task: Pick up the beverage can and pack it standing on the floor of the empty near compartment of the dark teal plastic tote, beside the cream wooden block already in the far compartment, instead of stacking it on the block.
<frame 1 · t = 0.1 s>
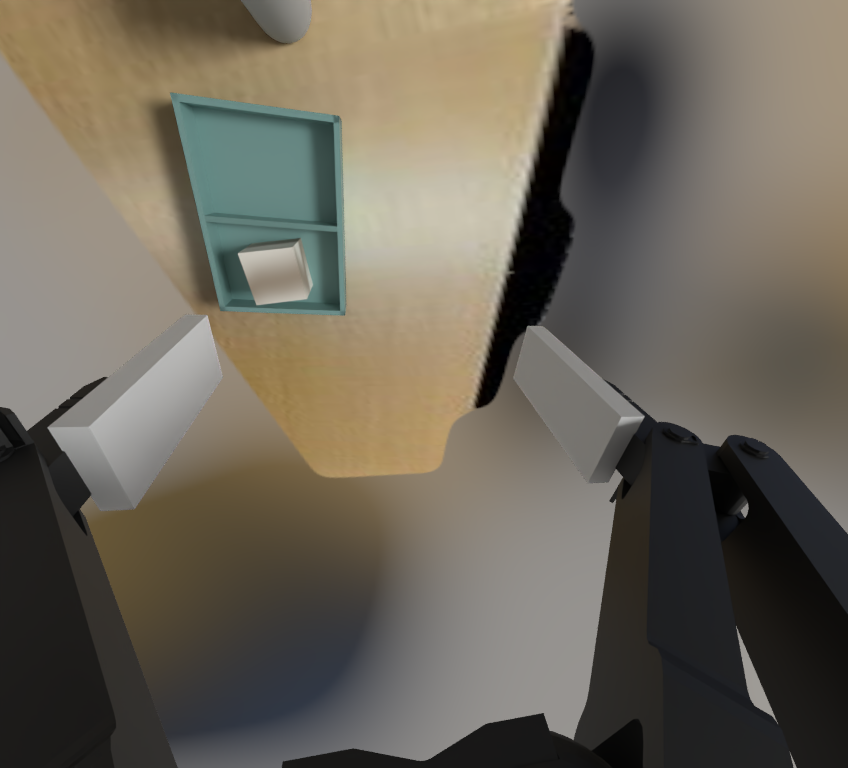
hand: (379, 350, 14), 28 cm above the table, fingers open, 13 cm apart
tote: (280, 219, 35), on the table
beverage can: (282, 5, 28), on the table
cream block: (284, 264, 37), point 1 cm above the table, touching tote
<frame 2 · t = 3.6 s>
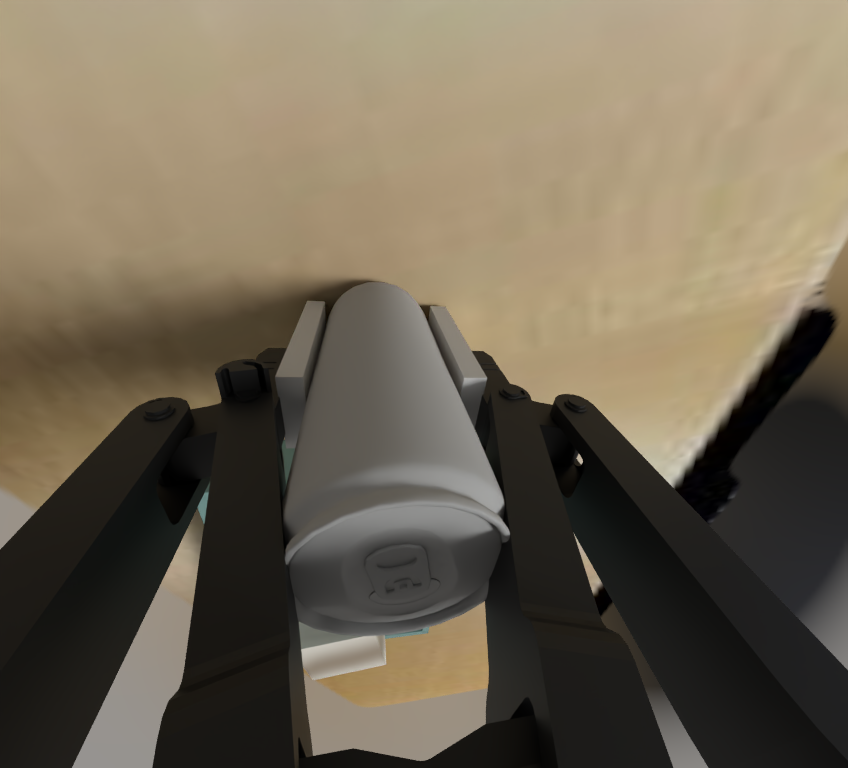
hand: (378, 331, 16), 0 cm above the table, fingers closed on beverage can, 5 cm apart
tote: (344, 532, 24), on the table
beverage can: (377, 326, 16), on the table, touching gripper
cream block: (345, 579, 26), point 1 cm above the table, touching tote
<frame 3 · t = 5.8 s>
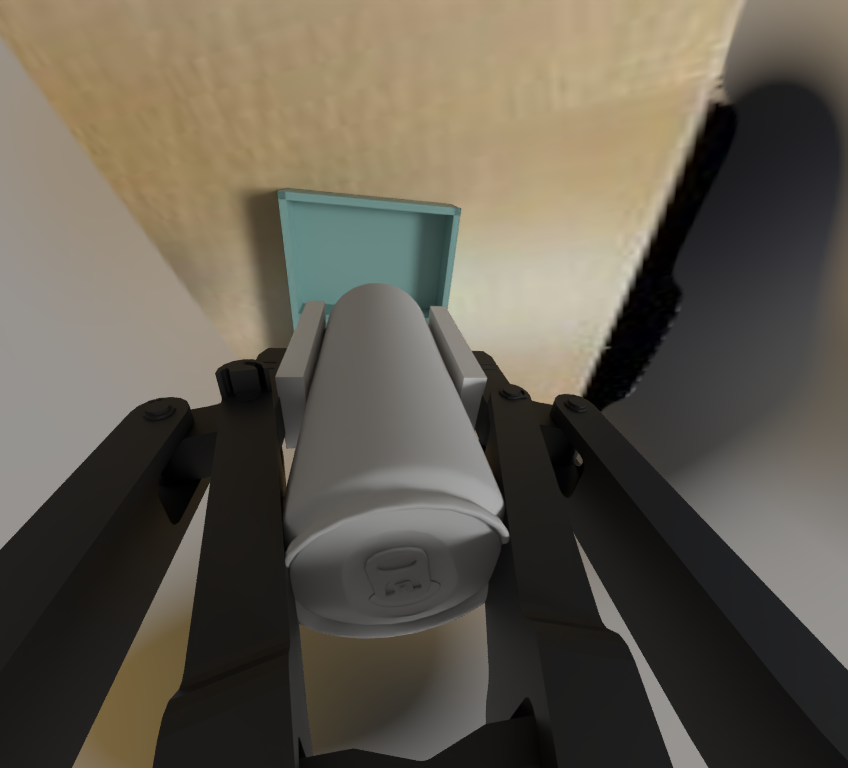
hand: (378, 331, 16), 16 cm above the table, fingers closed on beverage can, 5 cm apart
tote: (371, 305, 32), on the table
beverage can: (377, 327, 17), point 16 cm above the table, touching gripper
when the fingers open (3 cm above the table, at t = 8.3 s): beverage can drops 2 cm, resting on tote.
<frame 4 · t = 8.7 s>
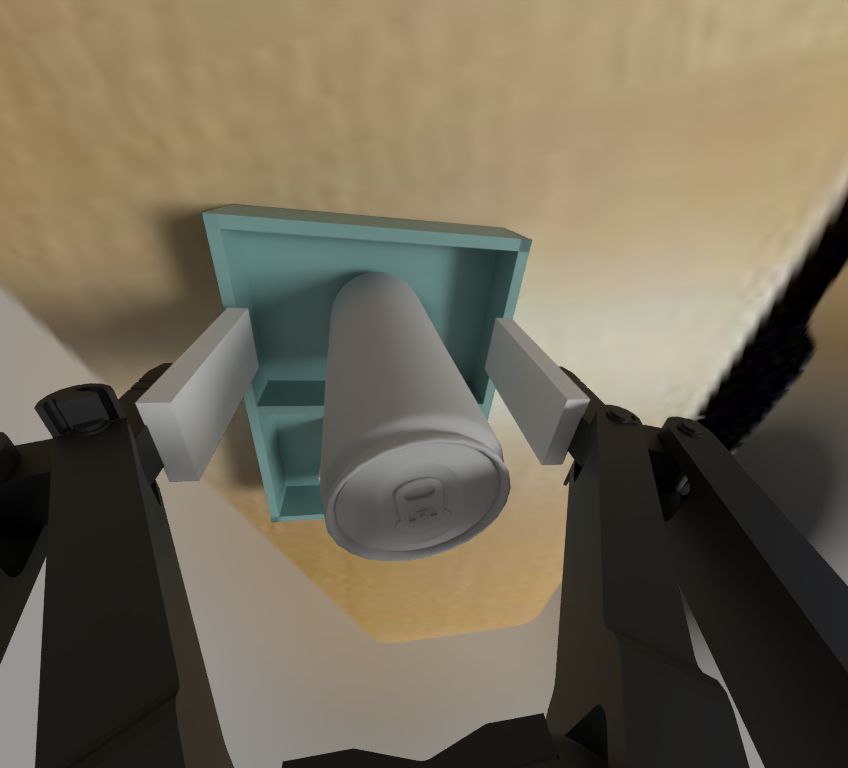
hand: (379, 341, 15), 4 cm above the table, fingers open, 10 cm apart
tote: (374, 375, 21), on the table
beverage can: (376, 313, 18), point 1 cm above the table, touching tote
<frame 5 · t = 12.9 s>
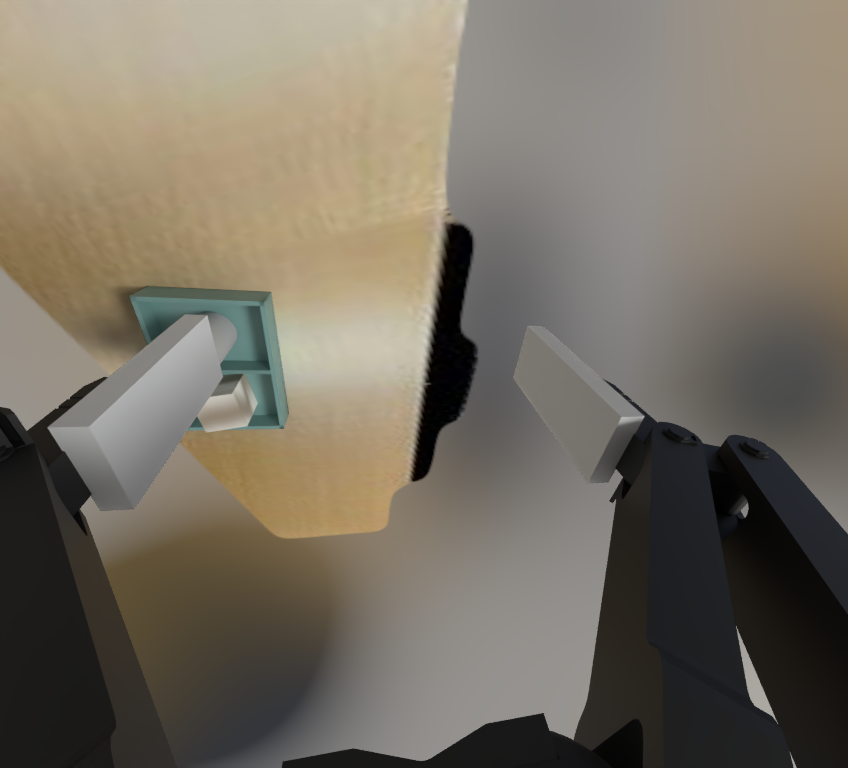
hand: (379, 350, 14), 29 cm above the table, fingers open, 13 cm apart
tote: (227, 358, 44), on the table
beverage can: (217, 328, 41), point 1 cm above the table, touching tote
cream block: (232, 390, 45), point 1 cm above the table, touching tote
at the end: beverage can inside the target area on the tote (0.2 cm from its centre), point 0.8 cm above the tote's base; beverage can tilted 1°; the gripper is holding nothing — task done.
